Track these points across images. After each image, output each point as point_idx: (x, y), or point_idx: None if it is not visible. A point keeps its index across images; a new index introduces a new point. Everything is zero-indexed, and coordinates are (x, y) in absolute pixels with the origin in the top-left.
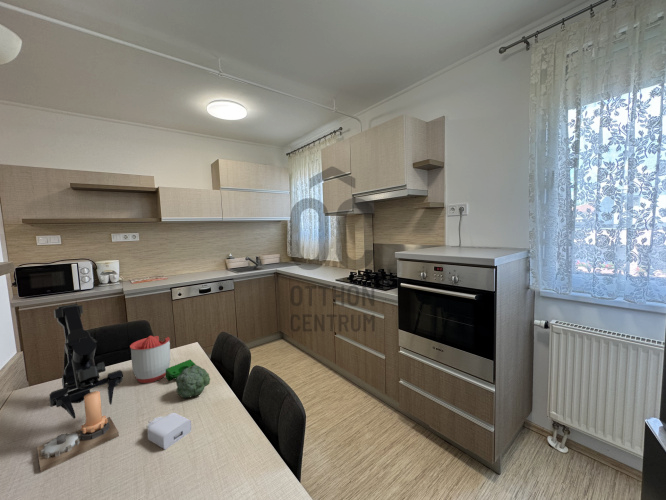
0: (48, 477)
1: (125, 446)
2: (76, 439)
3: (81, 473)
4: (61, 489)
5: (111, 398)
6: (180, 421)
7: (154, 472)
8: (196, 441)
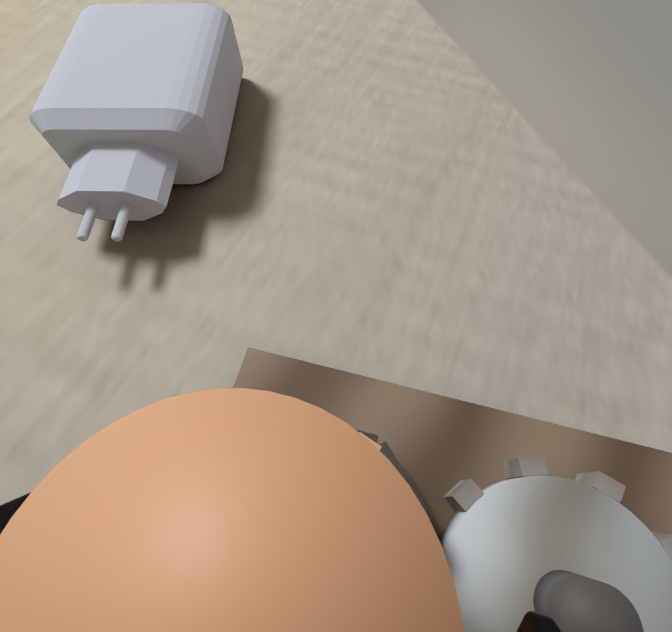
0: (627, 365)
1: (297, 234)
2: (471, 502)
3: (502, 240)
4: (588, 219)
5: (7, 510)
6: (106, 21)
7: (337, 26)
8: None
